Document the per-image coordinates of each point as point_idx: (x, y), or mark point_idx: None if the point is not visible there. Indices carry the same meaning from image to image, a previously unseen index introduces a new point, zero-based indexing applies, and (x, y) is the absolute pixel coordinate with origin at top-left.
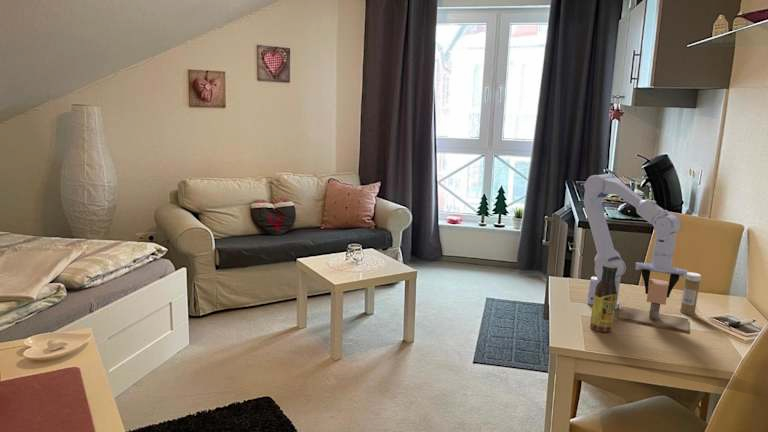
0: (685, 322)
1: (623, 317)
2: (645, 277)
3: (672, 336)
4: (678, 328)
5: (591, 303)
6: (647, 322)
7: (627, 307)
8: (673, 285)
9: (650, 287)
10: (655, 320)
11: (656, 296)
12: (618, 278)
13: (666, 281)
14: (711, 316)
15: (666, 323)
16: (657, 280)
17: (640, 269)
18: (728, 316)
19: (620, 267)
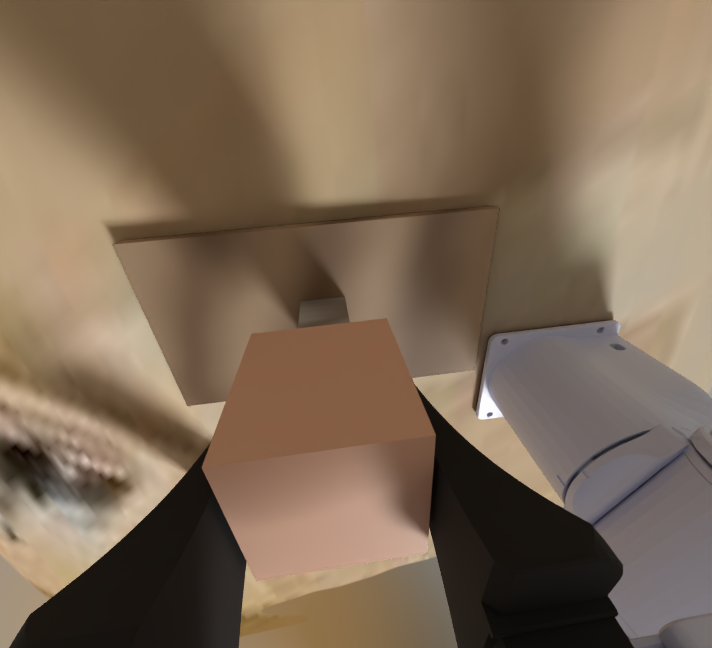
0: (177, 353)
1: (472, 216)
2: (517, 506)
3: (167, 102)
4: (170, 238)
5: (604, 325)
6: (342, 222)
7: (447, 371)
8: (150, 516)
9: (401, 400)
10: (309, 285)
11: (324, 357)
12: (591, 498)
13: (271, 571)
14: (140, 489)
15: (250, 277)
16: (355, 548)
17: (638, 642)
18: (95, 520)
19: (659, 597)
